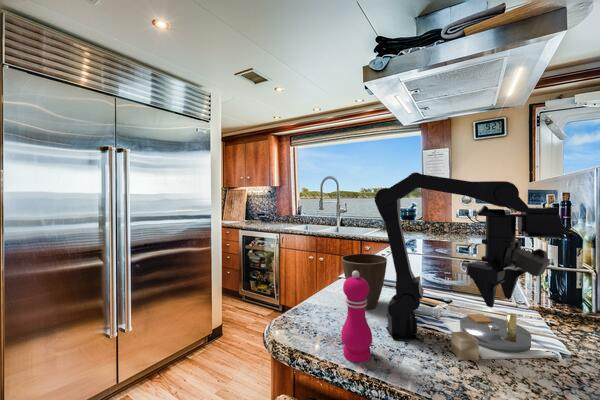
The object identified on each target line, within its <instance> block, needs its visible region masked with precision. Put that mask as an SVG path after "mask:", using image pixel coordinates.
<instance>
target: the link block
mask: <svg viewBox="0 0 600 400" xmlns="http://www.w3.org/2000/svg"><path fill="white" fill-rule="evenodd" d="M450 332H451V333H450V336H451V337H450V338H451V339H450V341H451V342H450V343H451V344H450V345H451V346H450V347H451V348H450V350H451V352H453V354H455V355H456V357H457V358H458V359H459V360H460V361H474V360H475V361H477V360H478V361H479V357H480V356H479V340H478V339H476V338H475V337H474V336H473V335H471V334H470V333H469V332H452V331H450Z"/></svg>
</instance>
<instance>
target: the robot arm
mask: <svg viewBox="0 0 600 400" xmlns="http://www.w3.org/2000/svg"><path fill="white" fill-rule="evenodd" d="M417 189H423V190H428V191H434V192H435V191H436V192H441V193H447V194H453V195H458V196H465V197H468V198H471V199H474V200H478V201H481V202H484V203H486V204H488V205H489V204H490V205H492V206H495V207H496V206H497V207H500V208H489V207H488V206H487V205H483V206H482V207H481V208H480V209H478V211H475V213H476V214H475V215H476V216H478V217H485V238H483V239H481V244H482V245H485V246H484V249H485V251H484V252H485V253H484V254H485V255H484V256H481V260H476V261H474V262H473V261H472V262H471V263H469V264H468V265H466V267H465V269H466V272H465V273H466V275H467V276H469V278H470V279H472V281H473V283H474V284H475V286H476V288H477V289H478V291H479V293H480V295H481V298H482V300H483V301H484V303H485V306H486V307H488V308H490V309H491V308H493V307H494V303H495V301H496V295H497V289H498V286H499V285H500V287H501V289H502V290H501V291H502V293H503V295H504V298H505V299H509V300H511V298H512V297H513V294H514V291H515V288H516V285H517V283H518V280H519V278H520V277H521V276H523V275H525V274H529V275H531V276H533V277H540V276H541V275H544V274H545V271H546V269H547V268H548V267H549V266H550V265H551V263H550V260H551V259H550V258H548V252H547V251H545V250H544V249H541V248H537V249H535V250H534V251H531V250H527V249H524V248H522V243H521V242H520V240H517V230H518V232H519V233H523V236H524V237H525V238H537V239H552V240H553V239H555V240H556V239H557V240H559V239H561V237H562V235H563V231H564V223H562V218H561V215H560V213H559V207H556V206H555V207H554V206H544V207H529V206H528V204H527V203H525V202H524V201H523V200H524V199H523V200H522V198H521V197H520V192H519V189H518V187H517V186H516V184H514V183H513V182H509V181H504V180H503V181H499V180H498V181H494V180H493V181H492V180H491V181H489V180H487V181H469V180H462V179H457V178H456V179H455V178H449V177H442V176H436V175H429V174H422V173H420V172H417V171H416V172H411V173H410V174H409V175H408V176H407V177H405V178H403V179H401V180H400V181H399V182H397V183H394V184H393V185H392V186H390V187H384V188H380V189H379V190H378V191H377V192H376V194H375V195H374V203H375V205H376V208H377V210H378V214H379V215H380V218H382V221H383V222H384V225H385V230H386V234H387V238H388V243H389V248H390V253H391V257H392V261H393V267H394V270H395V271H394V272H395V294H394V295H392V297H391V298H390V299H391V300H390V301H389V304H388V306H387V326H386V327H385V329H386V331H387V332H388V335H390V337H391V338H392V340H394V341H411V340H413V341H414V340H419V337H418V335H417V334H418V317H417V318H416V313H415V311H416V310H418V309H419V307H420V306H421V301H422V300H423V297H424V290H425V289H423V287H422V283H421V276H420V275H419V276H415V274H414V272H413V271H412V267H411V263H410V259H409V253H408V249H407V245H406V240H405V235H404V230H403V227H402V223H401V222H402V221H401V210H402V209H401V199H403V198H404V197H406V196H407V195H410V194H411V193H412V192H414V191H415V190H417ZM504 208H506V209H508V210H510V211H514V212H517V213H508V212H507V213H506V211H505V209H504Z"/></svg>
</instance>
